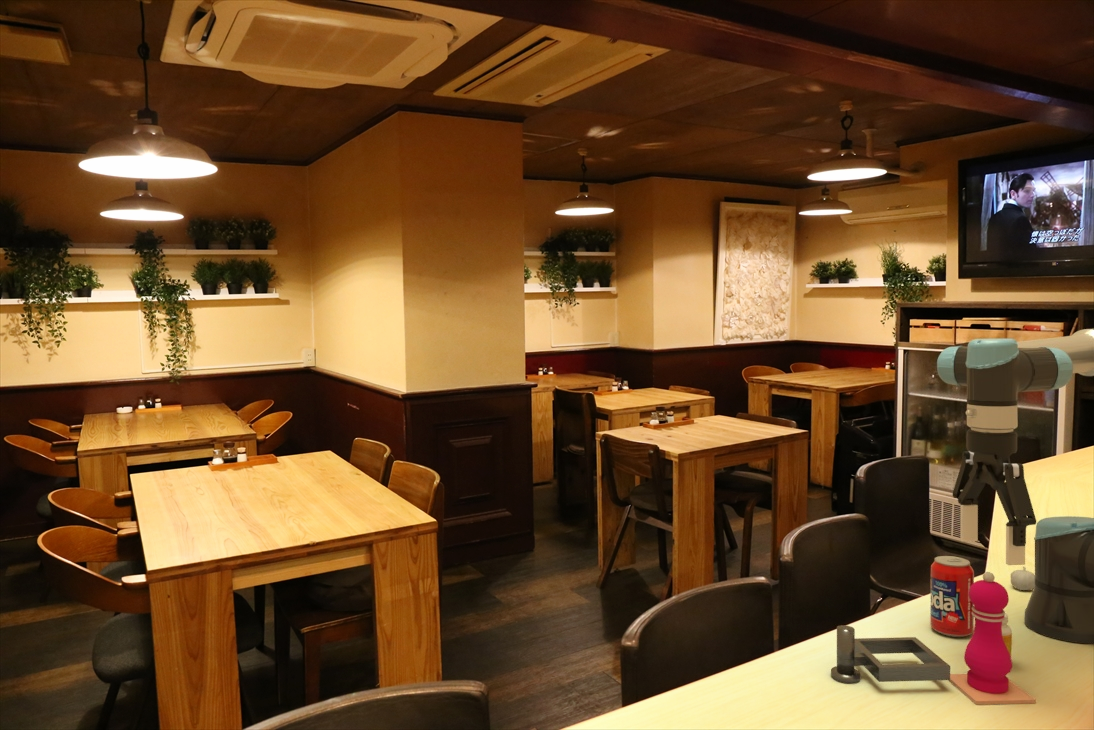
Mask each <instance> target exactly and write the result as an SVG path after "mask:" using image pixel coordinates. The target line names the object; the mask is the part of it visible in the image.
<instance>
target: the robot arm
mask: <svg viewBox="0 0 1094 730" xmlns="http://www.w3.org/2000/svg"><path fill="white" fill-rule="evenodd" d="M936 368H937V369H936V370H937V371H936V372H937V375H938V377H939V378H940V379H941V380H942V381H943V382H944V383H945V384H948V385H953V386H954V385H955V386H958V387H964V386H965V387H966V411H965V415H966V426H967V427H969V429H967V431H966V450H967V451H966V450H965V451H962V453H961V454H962V456H961V457H962V458H961V465H960V468H959V471H958V474H957V478H956V480H955V484H954V486H953V490H952V497H953V499H957V502H958V504H959V505H960V510H959V511H960V514H959V515H960V518H959V519H960V536H959V537H960V538H959V539H960V541H961V542H962V543H963V542H978V538H979V536H978V535H979V534H978V533H979V532H978V531H979V530H978V529H979V528H978V527H979V526H978V525H979V524H978V523H979V521H978V520H979V519H978V518H979V516H978V515H979V513H978V512H979V511H978V510H979V508H978V507H979V505H978V504H979V501H978V497H979V496H980V494H981V492H982V491H983V490H984V487H985V486H986V484H987V485H990V487H991V488H992V490H995V492H996V494H997V496H998V499H999V501H1000V503H1001V506H1002V509H1003V510H1004V512H1005V515H1006V518H1007V520H1008V521H1007V522H1006V523H1005V564H1006V565H1007V566H1026V544H1027V528H1028V526H1035V536H1034V575H1035V587H1034V588H1033V589H1032V593H1031V595H1030V598H1029V600H1028V602H1027V605H1026V608H1025V609H1024V615H1023V616H1024V617H1023V618H1024V619H1023V620H1024V621H1023V623H1024V624H1025V626H1026V625H1027V626H1028V627H1027V626H1026V627H1027V628H1029V629H1030V630H1032V631H1033V630H1034V632H1035V633H1038V634H1040V635H1043V636H1046V637H1049V638H1053V639H1056V640H1060V641H1066V642H1070V643H1079V644H1094V517H1088V516H1069V515H1068V516H1051V517H1044V518H1041V519H1040V520H1039V521H1037V519H1036V515H1035V511H1034V509H1033V505H1032V501H1031V497H1030V494H1029V490H1028V486H1027V483H1026V479H1025V472H1024V471H1025V469H1024V465H1023V464H1022V463H1011V460H1010V456H1011V455H1014V454H1016V453H1017V451H1018V433H1017V432H1016V431H1015V429H1017V428H1018V424H1019V422H1018V394H1019V393H1025V392H1026V393H1027V392H1028V393H1029V392H1050V391H1052V390H1054V391H1055V390H1059V389H1060V388H1064V387H1065V386H1067V384H1068V383H1069V382H1070V381H1071V379H1072V377H1073V374H1079V375H1081V376H1084V377H1094V327H1092V328H1086V329H1085V328H1084V329H1079V330H1077V331H1076V332H1074V333H1073V334H1071V335H1066V336H1057V337H1049V338H1039V339H1030V340H1021V341H1019V340H1018V341H1017V340H1016V339H1015V338H999V337H998V338H975V339H974V338H973V339H971V340H970V341H969V342H968V344H967V346H965V345H957V346H949V347H946V348H944V350H942V351H941V353H940V354H939V355H938V358H937V361H936Z"/></svg>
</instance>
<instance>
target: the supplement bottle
mask: <svg viewBox="0 0 1094 730" xmlns="http://www.w3.org/2000/svg"><path fill="white" fill-rule="evenodd" d="M1004 616H1005V620H1004V621H1002V627H1001V628H1002V637H1003V640H1004V643H1005V645H1006V647H1007V649H1008V651H1009V653H1010V656H1011V657H1012V649H1013V648H1012V645H1013V643H1012V642H1013V640H1012V639H1013V630H1012V628H1011V626H1009V624H1008V622H1009V615H1008V613H1006V612H1005V615H1004Z"/></svg>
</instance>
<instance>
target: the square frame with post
mask: <svg viewBox="0 0 1094 730" xmlns="http://www.w3.org/2000/svg"><path fill="white" fill-rule="evenodd" d="M855 634H856V631H855V628H854V627H853V626H849V625H842V624H841V625H837V626H836V666H833V667H831V669H830V677H831V678H832V679H833V680H834V681H836V682H838V683H841V684H842V683H843V684H845V685H847V684H849V685H854V684H858V683H859V682H861V680H862V679H861V678H862V677H861V671H860V670H858V669H857V668H855V667H856V666H857V667H858V666H861V667H862V666H863V667H864V668H865V669H866V670H867V671H868V673H869V674H871V675H872V676H873V677H874V678H875V680H876V681H877V682H879V683H880V682H881V683H887V682H888V683H889V682H924V681H925V682H929V681H932V682H933V681H948V680H950V674H951V665H950V664H949V663H948V662H946V660H944V659H942V657H940V656H939V655H937V654H936V653H935V651H933V650H932V649H931V648H929V646H927V645H925V643H923V642H922V641H921V640H919V639H918V638H917V637H916V636H913V637H912V636H908V637H906V636H905V637H901V636H900V637H872V638H871V637H865V638H861V637H860V638H859V637H857V638H855V636H856V635H855ZM879 654H880V655H881V654H883V655H884V654H886V655H887V654H889V655H890V654H913V655H914V656H915V657H916V658H917V659H918V660H919V661H921V662H922V663H894V664H893V663H892V664H891V663H889V664H886V663H885V664H884V663H882V662H881V661H880V660H879V659H878V658H877V657H876V656H875V655H879Z"/></svg>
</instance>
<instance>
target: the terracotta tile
mask: <svg viewBox="0 0 1094 730" xmlns="http://www.w3.org/2000/svg"><path fill="white" fill-rule="evenodd" d="M1008 680H1009V689H1008V691H1007V692H1005V693H1000V694H993V693H986V692H982V691H979V690H977V689H975V688H973V687H971V686H970V685H969V684H968V682H967V673H950V680H947V681H948V682H949V683H950V684H951V685H953V687H955V688H956V689H957V690H958V691H960V692H961V693H962V694H963V695H964V696H966V698H967V699H969V700H970V701H971V702H972V703H974V704H975V705H976V706H981V705H982V706H983V705H1015V704H1016V705H1018V704H1020V705H1022V704H1025V705H1026V704H1036V703H1037V702H1036V698H1034V697H1033V696H1032V695H1030V694H1029V693H1027V692H1026V691H1025V690H1024V689H1022V688H1021V687H1020V686H1018V685H1017V684H1015V682H1013V681H1011V680H1010V679H1009V678H1008Z"/></svg>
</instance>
